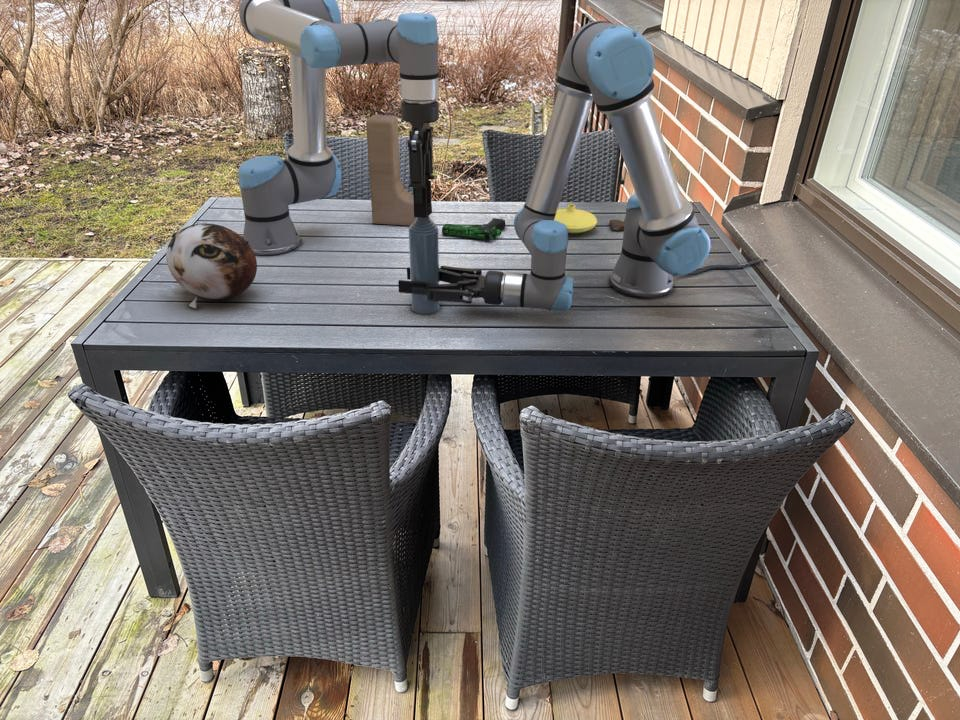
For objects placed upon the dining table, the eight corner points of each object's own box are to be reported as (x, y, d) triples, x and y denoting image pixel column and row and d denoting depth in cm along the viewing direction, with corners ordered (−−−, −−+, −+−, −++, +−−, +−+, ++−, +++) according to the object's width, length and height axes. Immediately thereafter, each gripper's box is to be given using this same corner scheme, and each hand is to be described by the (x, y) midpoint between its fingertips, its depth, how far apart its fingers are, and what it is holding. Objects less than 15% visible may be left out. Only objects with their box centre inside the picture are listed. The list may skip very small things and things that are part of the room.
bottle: (439, 313, 163) (437, 212, 151) (411, 314, 163) (407, 212, 150) (439, 301, 168) (437, 202, 156) (412, 301, 168) (408, 202, 156)
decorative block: (421, 227, 210) (418, 122, 195) (372, 224, 212) (365, 119, 197) (426, 218, 217) (424, 116, 201) (378, 215, 218) (372, 114, 203)
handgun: (511, 219, 210) (493, 234, 198) (511, 228, 211) (492, 244, 199) (461, 212, 215) (440, 226, 203) (461, 221, 217) (440, 236, 204)
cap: (430, 209, 156) (429, 201, 155) (433, 215, 153) (433, 207, 152) (412, 210, 155) (412, 202, 154) (415, 216, 152) (415, 208, 151)
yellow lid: (559, 216, 220) (561, 193, 217) (605, 227, 212) (608, 204, 209) (532, 230, 209) (533, 207, 206) (580, 242, 201) (582, 218, 198)
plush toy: (130, 285, 161) (164, 203, 163) (192, 308, 177) (221, 233, 178) (195, 307, 151) (229, 220, 152) (254, 330, 166) (285, 250, 168)
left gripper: (410, 91, 150) (414, 200, 162) (390, 107, 135) (396, 225, 147) (446, 92, 149) (447, 202, 161) (429, 109, 134) (432, 228, 146)
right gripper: (495, 323, 153) (392, 313, 157) (508, 285, 170) (414, 277, 173) (496, 291, 149) (390, 282, 153) (509, 256, 166) (413, 248, 169)
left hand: (422, 213), depth 154 cm, fingers closed on cap, 4 cm apart
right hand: (403, 279), depth 163 cm, fingers closed on bottle, 6 cm apart
